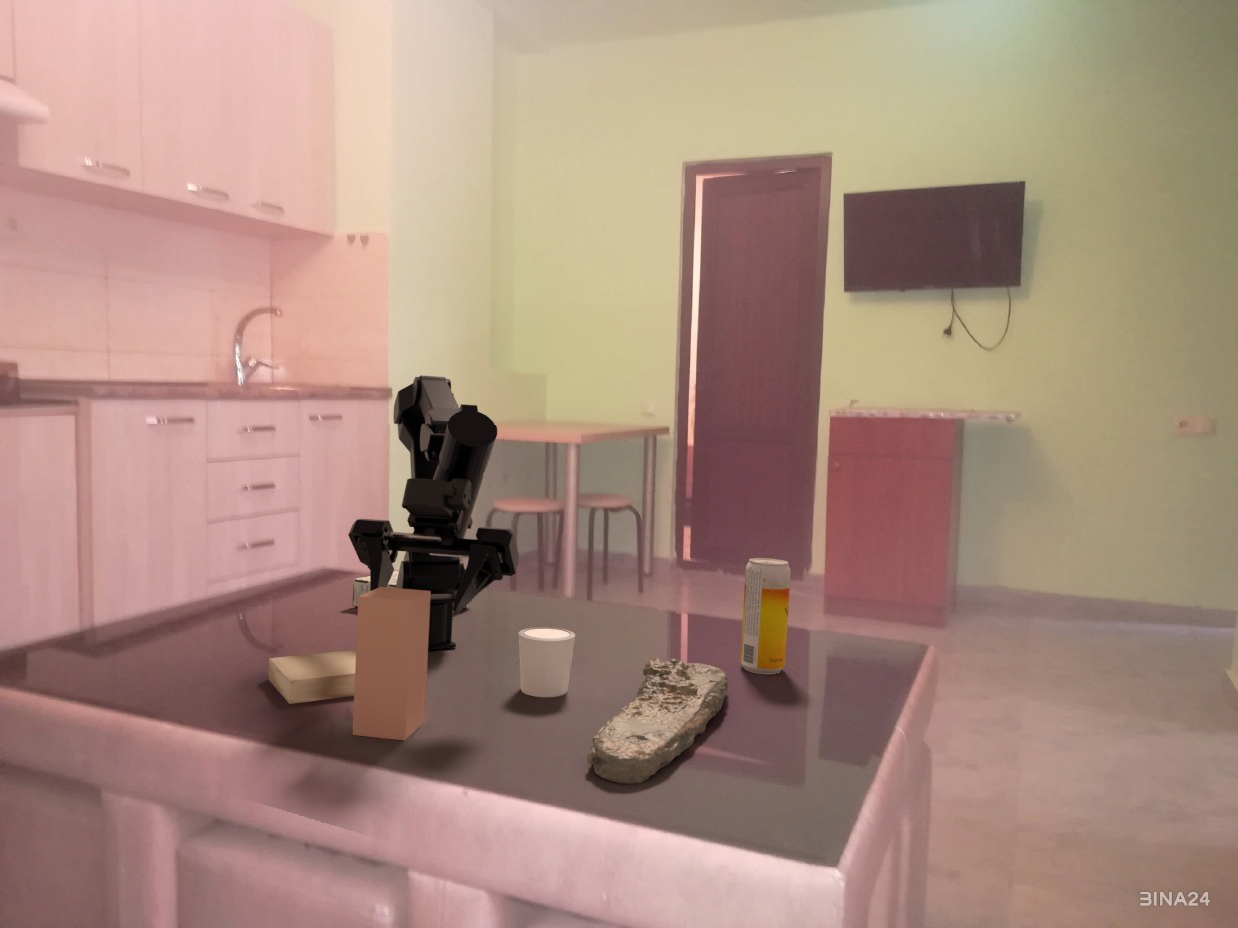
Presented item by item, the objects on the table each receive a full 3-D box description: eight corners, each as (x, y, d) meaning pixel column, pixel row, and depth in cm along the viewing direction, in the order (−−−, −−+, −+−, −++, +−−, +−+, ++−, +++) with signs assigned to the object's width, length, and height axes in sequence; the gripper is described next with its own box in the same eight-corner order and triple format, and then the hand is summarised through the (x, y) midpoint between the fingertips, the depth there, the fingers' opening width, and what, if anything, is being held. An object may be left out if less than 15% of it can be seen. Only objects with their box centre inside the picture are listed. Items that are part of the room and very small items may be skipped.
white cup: (528, 701, 102) (531, 641, 102) (507, 684, 108) (510, 627, 108) (581, 695, 106) (585, 637, 105) (558, 679, 112) (561, 624, 111)
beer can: (792, 670, 122) (799, 562, 121) (768, 678, 117) (775, 565, 117) (756, 660, 126) (762, 556, 125) (730, 667, 122) (737, 559, 121)
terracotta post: (375, 717, 94) (380, 586, 94) (424, 722, 93) (430, 590, 93) (352, 734, 89) (358, 596, 88) (405, 740, 88) (411, 600, 87)
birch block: (352, 673, 111) (353, 649, 111) (378, 696, 103) (379, 670, 103) (268, 683, 105) (269, 658, 105) (289, 707, 97) (290, 680, 97)
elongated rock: (558, 789, 82) (661, 815, 79) (563, 734, 81) (666, 759, 78) (665, 675, 115) (741, 690, 112) (669, 635, 114) (745, 650, 111)
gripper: (358, 448, 101) (309, 557, 91) (517, 457, 99) (485, 570, 89) (383, 511, 110) (340, 617, 99) (530, 521, 107) (502, 631, 97)
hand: (413, 608), depth 96 cm, fingers open, 9 cm apart
